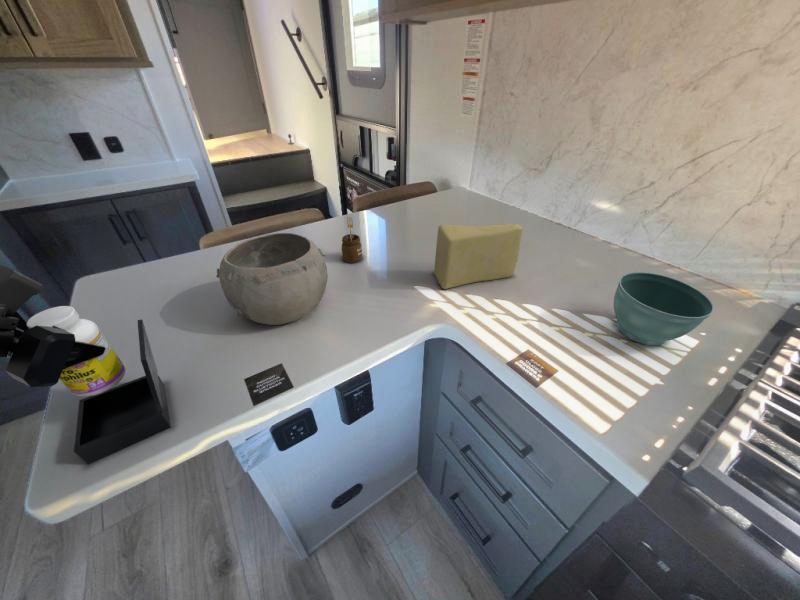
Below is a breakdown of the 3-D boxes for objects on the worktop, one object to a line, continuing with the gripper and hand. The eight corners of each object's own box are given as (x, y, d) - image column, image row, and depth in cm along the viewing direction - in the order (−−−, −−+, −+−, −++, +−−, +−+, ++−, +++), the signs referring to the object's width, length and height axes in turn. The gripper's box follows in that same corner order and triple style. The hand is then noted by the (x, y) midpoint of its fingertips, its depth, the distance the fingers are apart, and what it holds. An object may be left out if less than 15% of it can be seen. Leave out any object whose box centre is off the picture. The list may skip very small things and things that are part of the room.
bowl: (301, 270, 90) (292, 219, 81) (350, 305, 77) (345, 249, 68) (217, 302, 77) (195, 246, 68) (258, 351, 64) (237, 290, 55)
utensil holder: (342, 264, 93) (338, 225, 86) (342, 254, 98) (339, 217, 91) (362, 263, 94) (360, 225, 87) (362, 253, 99) (359, 216, 92)
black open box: (88, 464, 45) (73, 451, 43) (91, 413, 52) (79, 400, 50) (170, 427, 50) (161, 413, 48) (164, 385, 57) (155, 371, 55)
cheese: (504, 266, 94) (516, 218, 85) (520, 284, 86) (534, 233, 77) (432, 272, 91) (437, 222, 82) (441, 290, 83) (448, 238, 74)
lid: (140, 359, 42) (146, 358, 43) (137, 320, 49) (142, 319, 49) (157, 413, 48) (162, 411, 48) (152, 370, 54) (157, 369, 55)
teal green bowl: (700, 363, 64) (735, 321, 57) (614, 352, 66) (639, 311, 59) (661, 314, 77) (685, 276, 70) (590, 306, 79) (608, 268, 72)
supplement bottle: (61, 401, 46) (-2, 334, 38) (91, 367, 51) (40, 303, 44) (112, 396, 47) (60, 330, 39) (136, 363, 52) (94, 300, 45)
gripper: (-7, 276, 30) (154, 306, 45) (-103, 242, 35) (70, 279, 50) (-62, 393, 28) (124, 384, 43) (-155, 339, 33) (40, 347, 48)
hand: (88, 344), depth 46 cm, fingers closed on supplement bottle, 6 cm apart
